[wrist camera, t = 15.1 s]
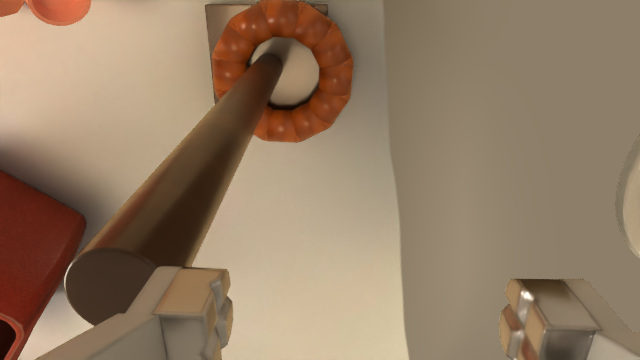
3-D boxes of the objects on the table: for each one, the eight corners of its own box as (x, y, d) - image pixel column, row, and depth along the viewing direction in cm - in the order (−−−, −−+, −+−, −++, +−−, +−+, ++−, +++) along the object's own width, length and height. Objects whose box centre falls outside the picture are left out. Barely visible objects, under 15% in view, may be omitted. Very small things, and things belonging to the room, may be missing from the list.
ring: (356, 3, 35) (359, 4, 32) (346, 139, 40) (347, 149, 37) (213, -5, 35) (205, -4, 32) (220, 133, 39) (213, 142, 37)
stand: (327, 4, 36) (348, 64, 7) (326, 118, 40) (338, 443, 12) (209, 4, 36) (-223, 64, 8) (220, 118, 40) (-32, 442, 12)
